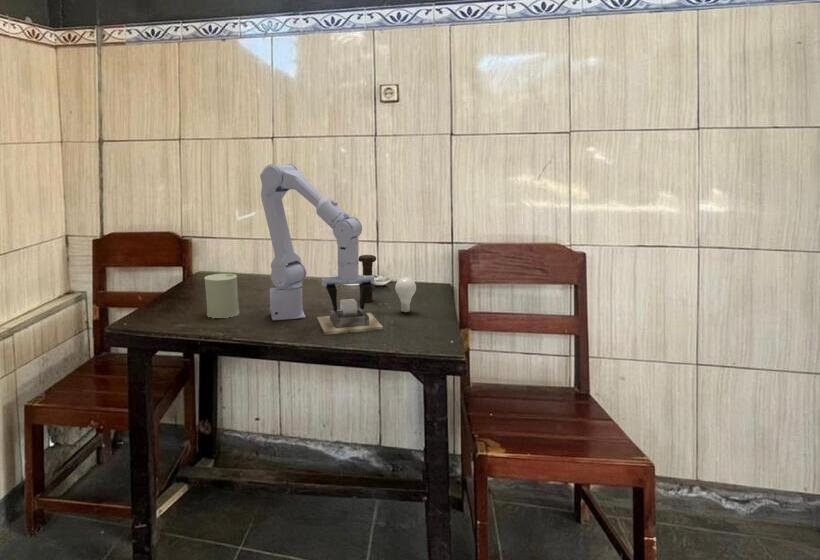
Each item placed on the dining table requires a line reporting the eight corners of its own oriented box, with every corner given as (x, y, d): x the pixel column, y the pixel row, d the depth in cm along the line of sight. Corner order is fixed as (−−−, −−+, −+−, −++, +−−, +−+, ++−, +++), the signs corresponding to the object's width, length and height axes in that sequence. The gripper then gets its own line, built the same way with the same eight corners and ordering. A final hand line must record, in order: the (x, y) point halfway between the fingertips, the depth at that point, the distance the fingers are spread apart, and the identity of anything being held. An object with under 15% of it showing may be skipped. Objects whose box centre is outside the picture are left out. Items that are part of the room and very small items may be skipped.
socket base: (324, 334, 144) (324, 323, 143) (317, 319, 157) (316, 309, 156) (382, 329, 148) (382, 318, 148) (370, 315, 161) (370, 305, 161)
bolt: (372, 303, 174) (372, 258, 170) (357, 302, 175) (357, 257, 171) (377, 299, 179) (377, 254, 176) (362, 298, 180) (362, 254, 177)
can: (245, 314, 161) (243, 275, 158) (216, 320, 154) (213, 280, 152) (229, 308, 167) (227, 270, 164) (201, 314, 160) (198, 275, 158)
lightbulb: (419, 311, 166) (419, 276, 164) (410, 316, 161) (410, 280, 158) (400, 308, 169) (401, 274, 166) (391, 313, 163) (391, 278, 161)
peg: (343, 324, 150) (342, 303, 149) (340, 319, 154) (340, 299, 152) (357, 322, 151) (356, 302, 150) (354, 318, 155) (353, 298, 154)
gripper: (324, 266, 142) (325, 315, 146) (377, 263, 147) (377, 311, 150) (320, 261, 149) (321, 308, 152) (371, 258, 153) (371, 304, 156)
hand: (348, 309), depth 151 cm, fingers open, 7 cm apart
